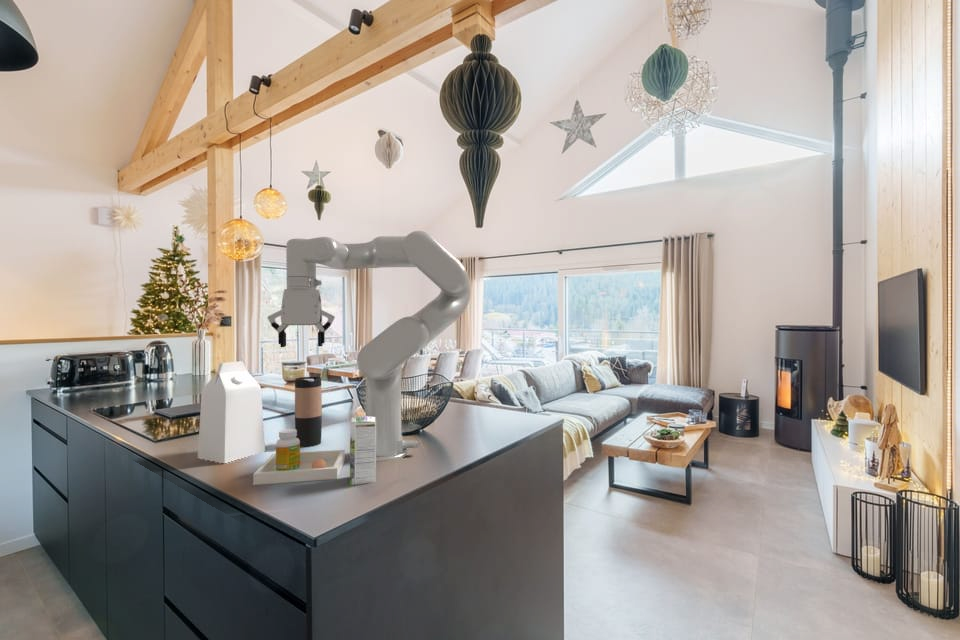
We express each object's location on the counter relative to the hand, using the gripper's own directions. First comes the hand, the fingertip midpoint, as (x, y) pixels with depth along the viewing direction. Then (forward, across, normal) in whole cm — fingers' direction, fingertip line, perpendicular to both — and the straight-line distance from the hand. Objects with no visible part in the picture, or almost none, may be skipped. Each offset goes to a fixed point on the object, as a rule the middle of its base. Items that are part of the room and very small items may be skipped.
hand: (301, 346), depth 120 cm
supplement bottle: (+30, +1, +13) cm, 33 cm away
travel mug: (+31, +1, -13) cm, 33 cm away
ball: (+30, -7, +16) cm, 34 cm away
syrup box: (+31, -18, +23) cm, 42 cm away
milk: (+31, +20, -6) cm, 37 cm away
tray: (+30, -3, +14) cm, 34 cm away
